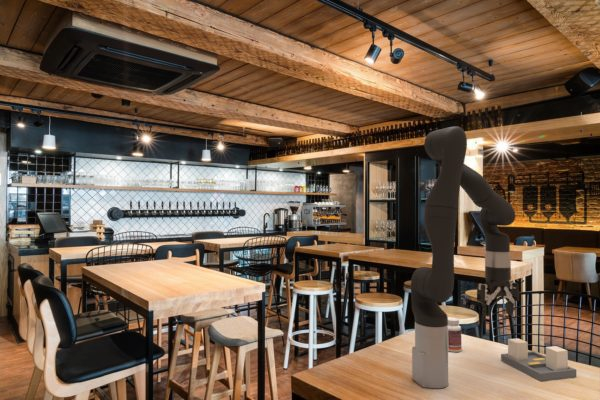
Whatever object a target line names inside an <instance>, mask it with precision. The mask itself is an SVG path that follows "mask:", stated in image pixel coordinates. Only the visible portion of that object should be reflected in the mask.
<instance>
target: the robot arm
mask: <svg viewBox="0 0 600 400" xmlns="http://www.w3.org/2000/svg"><path fill="white" fill-rule="evenodd" d="M423 143H424V145H423V146H424V149H425V152H426V154H427V155H428V156H429V158H431V160H432V161H433V162H435V163H436V164H437V165H438V166H439V167H440V168H441V169H440V171H439V175H438V177H437V179H436V181H435V182H434V184H433V186H432V187H431V189H430V191H429V192H428V194H427V197H426V199H425V203H424V211H423V212H424V213H423V225H424V226H423V227H424V229H425V232H426V235H427V238H428V240H429V243H430V246H431V252H432V261H431V267H428V266H420V267H418V268H416V269H415V270H414V271H413V273H412V275H411V279H410V297H411V299H410V300H411V310H412V313H413V315H414V346H412V348H411V374H412V375H411V376H412V380H413V381H414V382H416V383H417V384H418V385H419V386H420V387H422V388H429V389H443V388H446V387H448V386H449V351H448V317H449V316H448V314H447V313H446V312H445V311H444V310H443V309H442V308H441V306H440V305H439V304H438V303H441V304H443V303H445V302H448V301H449V300H450V298H451V296H452V294H453V291H454V287H455V243H456V242H455V241H456V240H455V239H456V229H457V228H456V227H457V222H458V221H457V220H458V212H459V211H458V210H459V199H460V198H459V196H460V188H462V189H463V191H464V193H465V194H467V196H468V198H470V200H471V201H472V202H473V204H474V205H476V207H478V208H481V209H480V210H479V220H480V224H481V228H482V231H483V234H484V238H485V254H484V278H485V283H479V282H478V283H477V284H476V285H477V286H476V302H477V303H481V305H482V314H483V316H485V317H490V316H491V305H490V304H491V303H492V301H493V300H495V298H500V297H503V298H504V299H505V314H507V315H509V316H512V315H513V314H514V311H515V310H514V309H515V308H514V305H515V303H516V302H519V301H520V287H519V286H520V285H519V283H518V282H515V281H511V279H512V269H511V267H512V266H511V265H512V264H511V263H512V261H511V260H512V259H511V252H510V248H511V247H510V245H511V244H510V240H511V239H510V236H509V235H508V234H507V233H504V232H501V231H500V229H499V226H501V227H502V226H503V227H505V226H510V225H511V224H513V223H514V222H515V220H516V212H515V209H514V207H513V206H512V204H510V202H509V201H507V200H506V199H505V198H504V197H502V196H501V195H500V194H498V193H497V192H496V191H494V189H493V186H491V185H490V183H489V182H488V181H487V179H486V178H485V177H484V176H483V175H481V174H480V173H479V172H478V171H476V170H475V169H473V168H471V167H470V166H468V165H467V164H465V160H466V153H467V148H468V147H467V146H468V139H467V134H466V132H465V131H464V128H462V127H460V126H458V125H457V126H450V127H445V128H441V129H435V130H434V131H430V132H429V133H428V134H427V135H426V136H425V138H424V142H423Z"/></svg>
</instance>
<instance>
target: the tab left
mask: <svg viewBox="0 0 600 400" xmlns="http://www.w3.org/2000/svg"><path fill="white" fill-rule="evenodd" d="M528 346H529V345H528V341H525V340H523V339H520V338H518V337H517V338H508V339H507V353H508V356H509V357H511V358H513V359H515V360H517V361H519V360H528V351H529V349H528V348H529V347H528Z"/></svg>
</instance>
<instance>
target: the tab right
mask: <svg viewBox="0 0 600 400" xmlns="http://www.w3.org/2000/svg"><path fill="white" fill-rule="evenodd" d="M568 351H569V350H567V349H564V348H562V347H559V346H557V345H553V346H546V347H545V356H546V367H548V368H550V369H552V370H563V369H568V366H569V362H568V361H569V359H568V357H569V356H568V355H569V354H568V353H569V352H568Z"/></svg>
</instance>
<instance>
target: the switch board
mask: <svg viewBox="0 0 600 400" xmlns="http://www.w3.org/2000/svg"><path fill="white" fill-rule="evenodd" d="M500 361H501V362H502V363H505V364H507V365H509V366H510V367H512V368H514V369H516V370H518V371H520V372H522V373H524V374H526V375H527V376H529V377H531V378H534V379H536V380H537V381H539V382H545V381H553V380H562V379H563V380H564V379H571V378H577V369H576V368H574V367H572V366H569V365H568V369H563V370H552V369H550V368H548V367H546V355H544V354H542V353H539V352H537V351H535V350H528V360H519V361H517V360H515V359H513V358H511V357H509V356H508V352H507V353H501V354H500Z"/></svg>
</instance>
